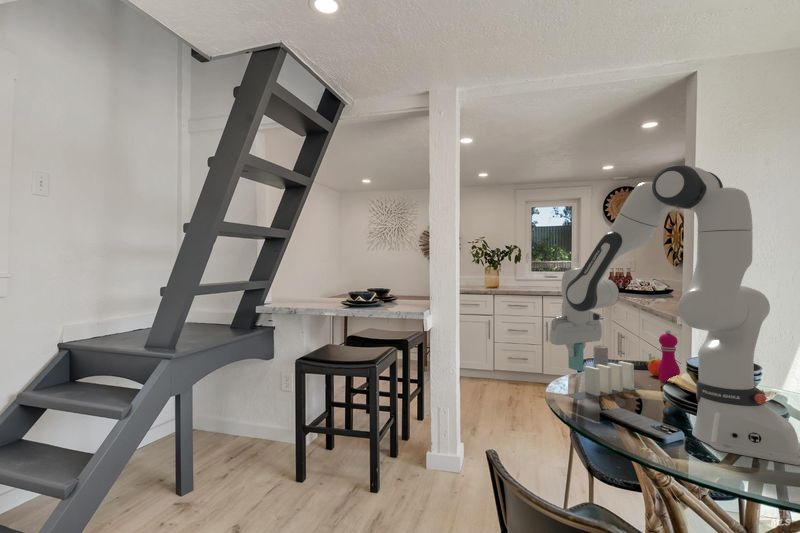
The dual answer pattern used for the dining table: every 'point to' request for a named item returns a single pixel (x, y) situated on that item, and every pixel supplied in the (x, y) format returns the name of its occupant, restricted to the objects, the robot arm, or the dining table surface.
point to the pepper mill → (668, 357)
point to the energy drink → (600, 355)
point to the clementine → (654, 366)
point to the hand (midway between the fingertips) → (576, 356)
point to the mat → (587, 395)
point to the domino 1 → (577, 358)
